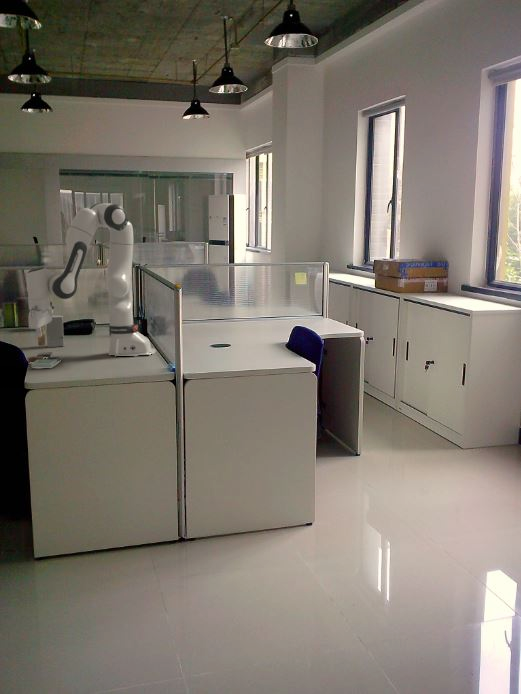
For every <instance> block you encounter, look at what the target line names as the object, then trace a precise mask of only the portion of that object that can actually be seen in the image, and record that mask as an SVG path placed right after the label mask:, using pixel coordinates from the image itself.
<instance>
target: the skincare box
mask: <svg viewBox="0 0 521 694" xmlns="http://www.w3.org/2000/svg"><path fill="white" fill-rule="evenodd" d="M63 317H64V316H63V315H53V316H52V321H51V322H50V323H48V324H46V327H47V330H46V341H47V343H46V344H47V348H48V347H50V348H60V347H59V346H64V347H65V340H64V339H65V337H64V336H65V335H64V320H63Z"/></svg>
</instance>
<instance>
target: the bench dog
mask: <svg viewBox="0 0 521 694" xmlns="http://www.w3.org/2000/svg"><path fill="white" fill-rule="evenodd" d="M36 360H45V359H43V356H37V355H36V356H35V355H34V356H29V357H28V358H27V361H28V362H29V363H30V362H35V361H36ZM29 363H28V364H29Z"/></svg>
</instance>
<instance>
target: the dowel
mask: <svg viewBox="0 0 521 694" xmlns="http://www.w3.org/2000/svg"><path fill="white" fill-rule="evenodd" d="M41 332H42V337H38V336H37V346H39V347H40V346H45V345H46V334H45V328H44V326H42V327H41Z"/></svg>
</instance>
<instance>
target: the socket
mask: <svg viewBox="0 0 521 694" xmlns="http://www.w3.org/2000/svg"><path fill="white" fill-rule="evenodd" d="M54 359H57V362H58V361H60V360H61V359H62V356H53V357H48V358H47V359H44V360H54Z"/></svg>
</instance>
